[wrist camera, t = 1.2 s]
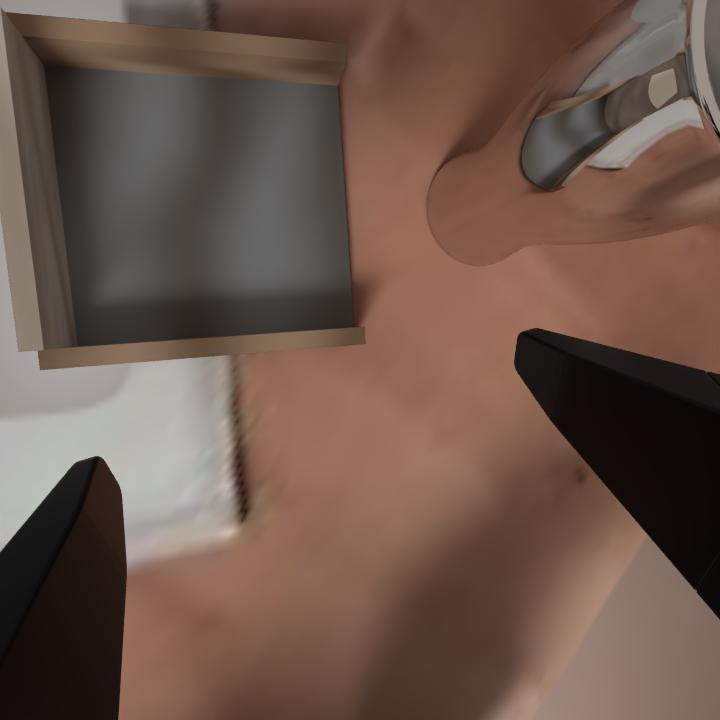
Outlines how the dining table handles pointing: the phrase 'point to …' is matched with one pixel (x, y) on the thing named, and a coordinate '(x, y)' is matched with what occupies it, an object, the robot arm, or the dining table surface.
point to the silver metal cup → (597, 142)
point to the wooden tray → (171, 192)
